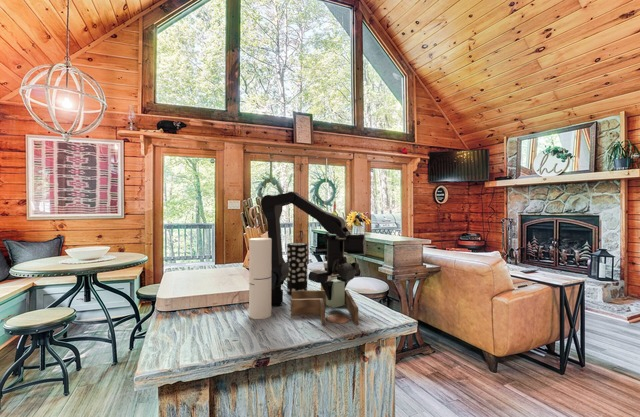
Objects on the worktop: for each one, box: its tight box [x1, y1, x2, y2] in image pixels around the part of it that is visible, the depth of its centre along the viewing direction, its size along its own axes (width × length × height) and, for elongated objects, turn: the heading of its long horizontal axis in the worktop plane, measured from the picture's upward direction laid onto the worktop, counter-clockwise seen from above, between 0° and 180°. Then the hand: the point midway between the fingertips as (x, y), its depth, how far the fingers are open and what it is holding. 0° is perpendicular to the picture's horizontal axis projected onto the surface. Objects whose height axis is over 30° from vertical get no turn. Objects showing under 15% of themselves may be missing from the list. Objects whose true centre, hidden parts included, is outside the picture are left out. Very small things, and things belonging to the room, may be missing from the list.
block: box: [326, 279, 346, 308], centre depth 108 cm, size 4×4×8 cm
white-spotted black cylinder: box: [286, 242, 308, 296], centre depth 130 cm, size 8×8×20 cm
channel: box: [290, 289, 359, 326], centre depth 105 cm, size 20×20×5 cm
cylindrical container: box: [248, 237, 272, 320], centre depth 103 cm, size 7×7×25 cm
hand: (335, 298), depth 108 cm, fingers closed on block, 4 cm apart
